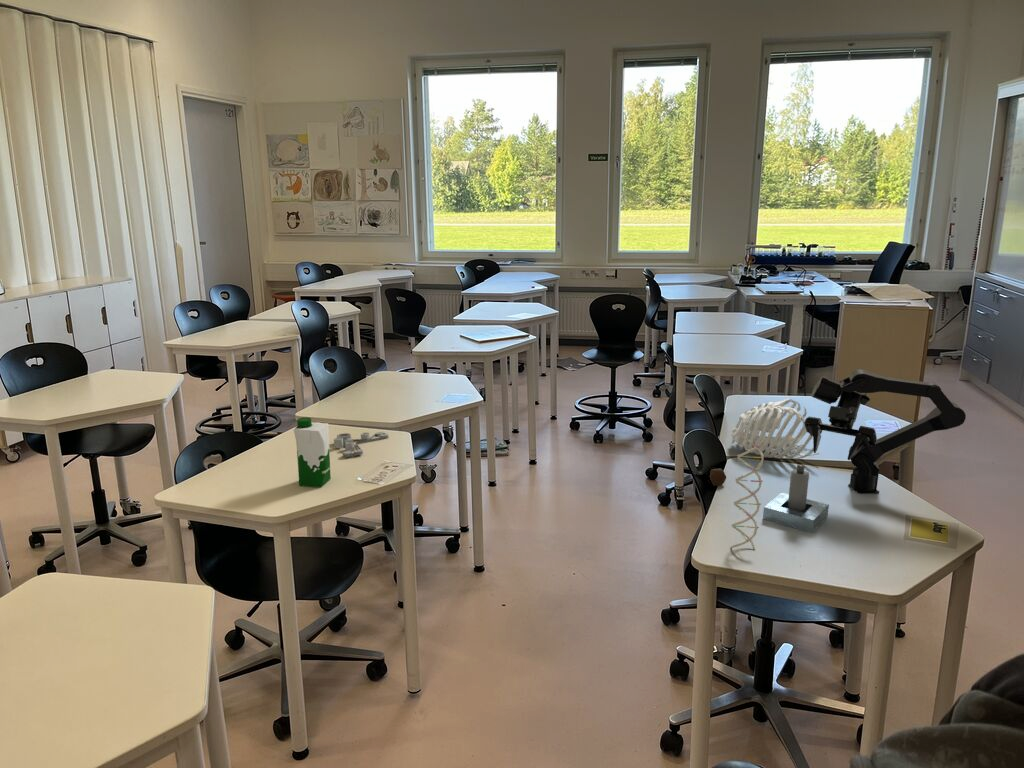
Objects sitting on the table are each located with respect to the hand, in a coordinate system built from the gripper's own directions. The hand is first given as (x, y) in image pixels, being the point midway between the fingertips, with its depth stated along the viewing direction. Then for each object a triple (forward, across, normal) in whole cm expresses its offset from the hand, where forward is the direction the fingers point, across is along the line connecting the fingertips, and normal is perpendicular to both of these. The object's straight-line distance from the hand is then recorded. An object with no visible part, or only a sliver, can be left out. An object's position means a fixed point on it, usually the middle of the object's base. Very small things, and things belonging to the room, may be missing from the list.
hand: (831, 455), depth 206 cm
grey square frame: (+22, -3, -3) cm, 22 cm away
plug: (+22, -3, -3) cm, 22 cm away
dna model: (+41, -6, -22) cm, 47 cm away
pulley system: (+49, -142, -29) cm, 153 cm away
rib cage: (-13, -27, +32) cm, 44 cm away
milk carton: (+70, -124, -51) cm, 151 cm away
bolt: (+13, -34, +7) cm, 37 cm away
